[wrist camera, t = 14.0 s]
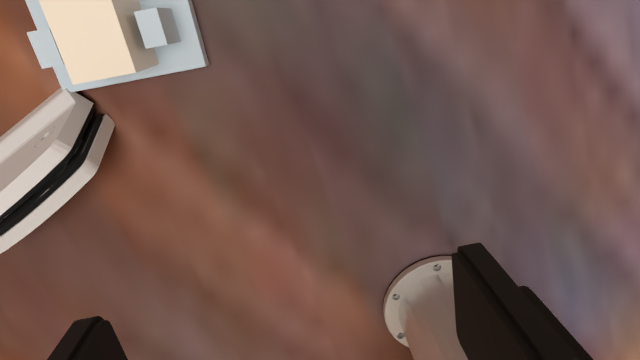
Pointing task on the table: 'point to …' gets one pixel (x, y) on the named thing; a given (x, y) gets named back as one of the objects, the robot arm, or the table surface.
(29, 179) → the white router
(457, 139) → the table surface
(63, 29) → the clay bar
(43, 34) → the rack
